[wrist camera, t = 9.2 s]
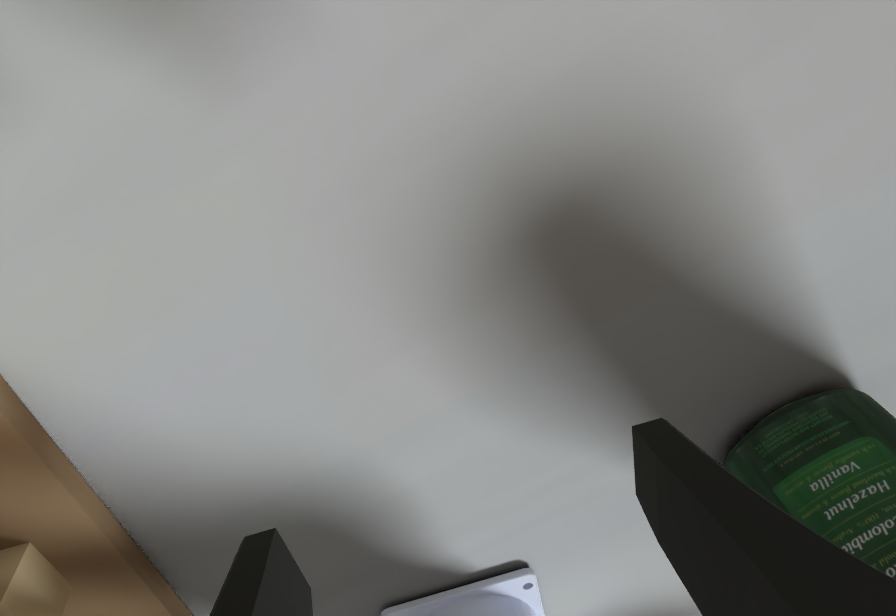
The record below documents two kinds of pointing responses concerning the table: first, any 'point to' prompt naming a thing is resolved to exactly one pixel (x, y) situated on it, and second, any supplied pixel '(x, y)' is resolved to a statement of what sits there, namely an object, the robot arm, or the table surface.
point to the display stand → (64, 535)
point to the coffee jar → (829, 470)
